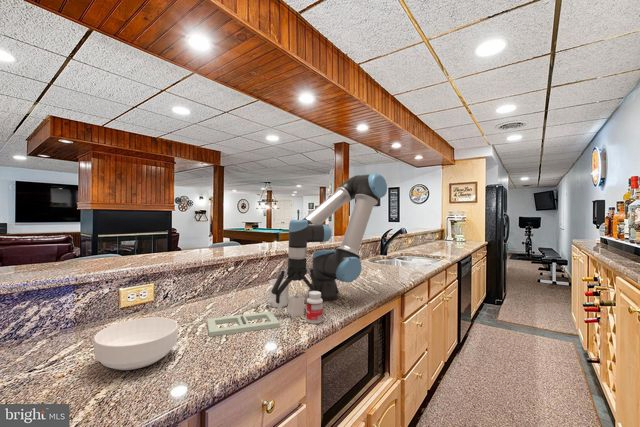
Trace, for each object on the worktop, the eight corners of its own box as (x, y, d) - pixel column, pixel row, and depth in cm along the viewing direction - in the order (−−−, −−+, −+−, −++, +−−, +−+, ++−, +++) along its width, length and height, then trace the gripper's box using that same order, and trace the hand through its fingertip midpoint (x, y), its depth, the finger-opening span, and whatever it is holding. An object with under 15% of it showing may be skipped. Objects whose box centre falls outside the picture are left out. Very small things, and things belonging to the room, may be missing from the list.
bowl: (82, 387, 69) (82, 351, 69) (104, 350, 87) (105, 321, 87) (175, 371, 77) (176, 339, 77) (178, 340, 95) (179, 314, 95)
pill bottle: (306, 318, 117) (307, 290, 117) (322, 318, 117) (323, 290, 117) (305, 324, 111) (306, 294, 111) (322, 324, 111) (323, 295, 111)
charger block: (299, 311, 125) (300, 294, 125) (303, 315, 120) (304, 297, 120) (288, 312, 123) (288, 295, 123) (292, 316, 118) (292, 298, 118)
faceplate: (270, 315, 120) (270, 309, 119) (279, 327, 108) (279, 321, 108) (207, 322, 110) (207, 317, 110) (209, 336, 98) (209, 330, 98)
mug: (258, 306, 130) (259, 281, 130) (279, 300, 139) (280, 277, 139) (271, 311, 124) (271, 285, 124) (292, 304, 133) (292, 281, 133)
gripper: (321, 255, 130) (319, 303, 130) (265, 257, 120) (263, 309, 120) (328, 257, 123) (327, 309, 123) (269, 260, 113) (267, 315, 113)
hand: (295, 309), depth 122 cm, fingers open, 13 cm apart
